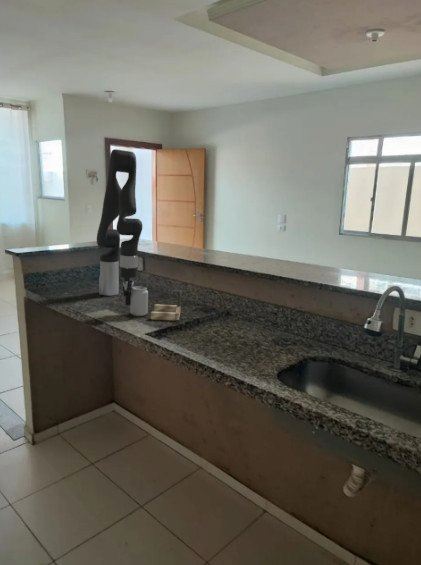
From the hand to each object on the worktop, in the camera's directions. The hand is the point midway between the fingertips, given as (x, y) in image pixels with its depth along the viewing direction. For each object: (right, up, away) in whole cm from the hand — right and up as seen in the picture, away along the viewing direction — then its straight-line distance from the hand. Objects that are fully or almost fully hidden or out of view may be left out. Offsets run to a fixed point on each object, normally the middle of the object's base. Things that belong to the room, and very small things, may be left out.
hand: (128, 304), depth 176 cm
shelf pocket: (+17, -5, +1) cm, 18 cm away
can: (+4, -4, +1) cm, 6 cm away
